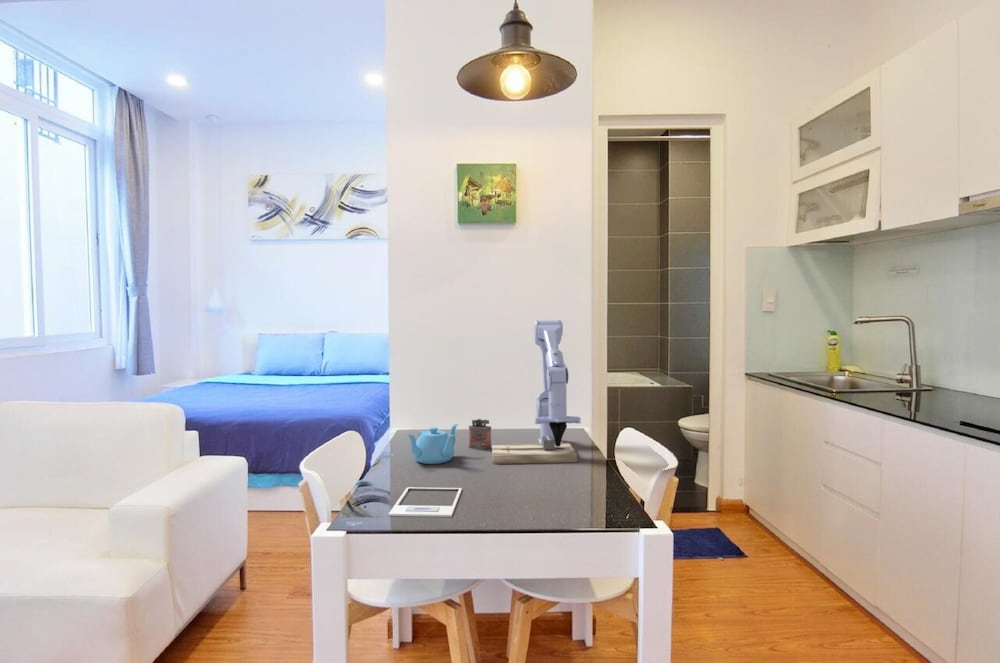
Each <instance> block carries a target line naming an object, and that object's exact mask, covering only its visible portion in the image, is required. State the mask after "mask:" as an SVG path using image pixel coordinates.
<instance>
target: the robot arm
mask: <svg viewBox="0 0 1000 663" xmlns="http://www.w3.org/2000/svg"><path fill="white" fill-rule="evenodd" d="M563 324H564V323H563V322H562V320H561V319H558V320H555V319H553V320H550V319H549V320H539V319H538V320H535V321H534V324H533V331H534V332H533V334H534V342H535V345H537V346H539V347H540V348H539V349H540V351H541V352H540V353H541V365H542V366H541V367H542V370H541V371H542V386H543V388H542V389H543V391H541V392H540V393H538V395H537V396H536V399H535V401H536V402H535V403H536V404H535V414H536V417H534V423H535V425H540V429H539V430H540V432H539V433H540V434H539V436H540V438H537V440H538V443H542V436H553V438H554V440H555V445H556V446H560V444H561V443H563V441H562V439H563V436H564V434H565V432H566V430H567V424H577V425H579V424H581V417H580V416H579V415H578V416H575V415H567V414H568V413H567V385H568V383H569V369H568V366H567V365H566V364H565V361H564V356H563V352H562V351H561V350H560V349H559V345H560V344H561V341H562V336H563V333H564V332H563V331H564V328H563V326H564V325H563Z"/></svg>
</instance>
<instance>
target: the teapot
mask: <svg viewBox="0 0 1000 663" xmlns="http://www.w3.org/2000/svg"><path fill="white" fill-rule="evenodd" d="M458 425H459V424H458V423H455V424H454V425H451V428H450V432H449V435H448V433H447V432H446V431H443V430H438V427H429V430H426V431H425V430H421V431H419V432H418V438H417V440H416V436H414V435H413V434H409V433H406V436H408V437H409V439H410V451H411V453H412V456H413V458H414V460H416V461H417V462H418V463H420V464H425V465H438V464H439V465H440V464H443V463H447V462H449V461H451V460H452V458H453V457H454V455H455V446H456V445H455V444H456V441H457V440H456V438H457V437H456V429H457V427H458Z"/></svg>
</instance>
